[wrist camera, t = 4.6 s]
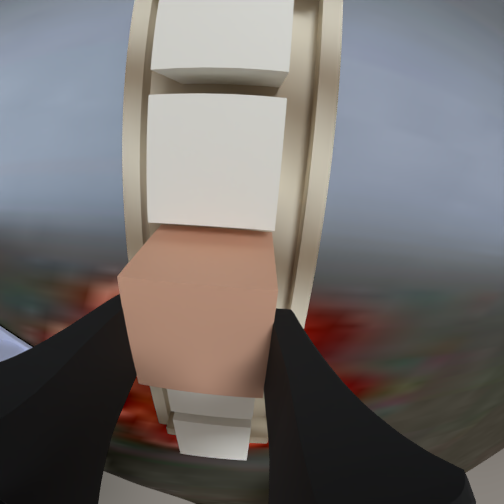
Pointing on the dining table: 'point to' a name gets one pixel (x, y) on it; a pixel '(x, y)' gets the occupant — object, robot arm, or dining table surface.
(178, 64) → the cream block
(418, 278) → the dining table surface
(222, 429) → the cream block
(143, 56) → the rack
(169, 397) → the cream block
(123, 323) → the robot arm
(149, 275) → the block terracotta
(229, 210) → the cream block
